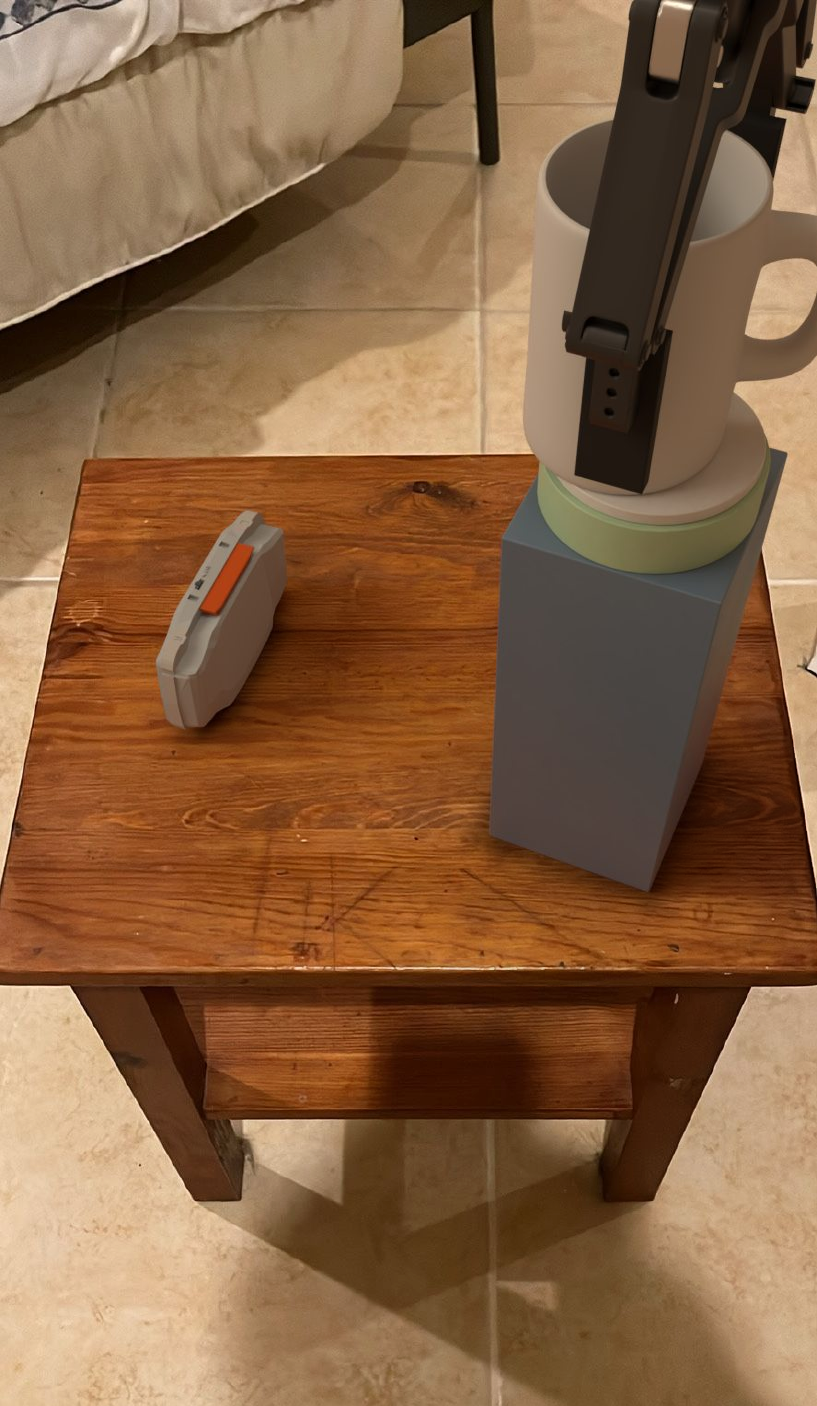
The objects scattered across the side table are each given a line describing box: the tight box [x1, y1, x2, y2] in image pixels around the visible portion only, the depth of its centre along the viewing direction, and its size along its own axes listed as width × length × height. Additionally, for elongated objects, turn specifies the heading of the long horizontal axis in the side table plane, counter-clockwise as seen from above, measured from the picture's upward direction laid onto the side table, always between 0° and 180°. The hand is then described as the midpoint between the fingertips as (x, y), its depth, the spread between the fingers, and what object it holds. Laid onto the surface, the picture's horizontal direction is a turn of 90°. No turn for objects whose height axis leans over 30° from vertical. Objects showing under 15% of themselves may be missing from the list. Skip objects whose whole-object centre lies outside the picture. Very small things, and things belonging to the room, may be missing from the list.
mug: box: [522, 117, 817, 495], centre depth 51 cm, size 12×8×11 cm
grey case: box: [155, 509, 288, 731], centre depth 82 cm, size 14×3×8 cm, turn 160°
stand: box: [488, 447, 788, 893], centre depth 68 cm, size 10×10×24 cm
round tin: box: [537, 391, 771, 574], centre depth 57 cm, size 10×10×3 cm
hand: (668, 369), depth 53 cm, fingers open, 13 cm apart
